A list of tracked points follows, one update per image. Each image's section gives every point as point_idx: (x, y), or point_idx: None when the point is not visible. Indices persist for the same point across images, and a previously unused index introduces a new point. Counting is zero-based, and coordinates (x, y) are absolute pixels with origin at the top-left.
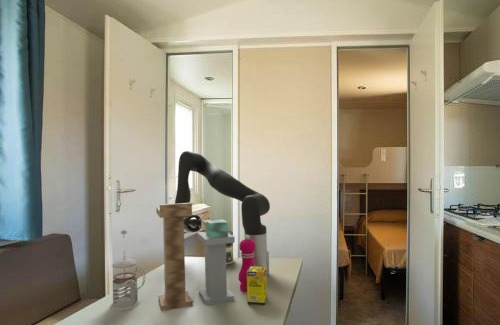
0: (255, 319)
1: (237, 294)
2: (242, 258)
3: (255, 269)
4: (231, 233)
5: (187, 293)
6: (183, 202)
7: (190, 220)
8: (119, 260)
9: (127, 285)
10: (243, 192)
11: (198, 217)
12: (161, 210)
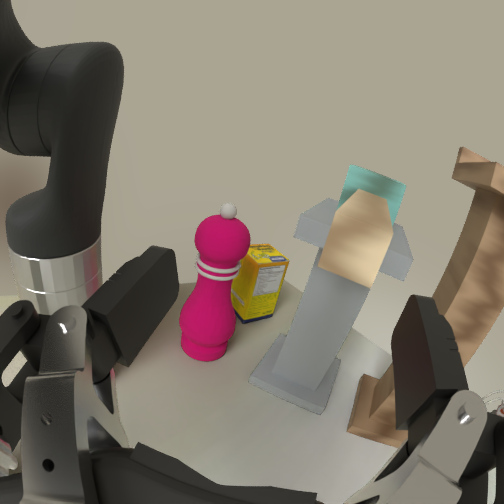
0: (300, 292)
1: (247, 350)
2: (232, 280)
3: (269, 252)
4: None
5: (358, 412)
6: None
7: (468, 389)
8: None
9: (494, 412)
10: (5, 22)
11: None
12: None
